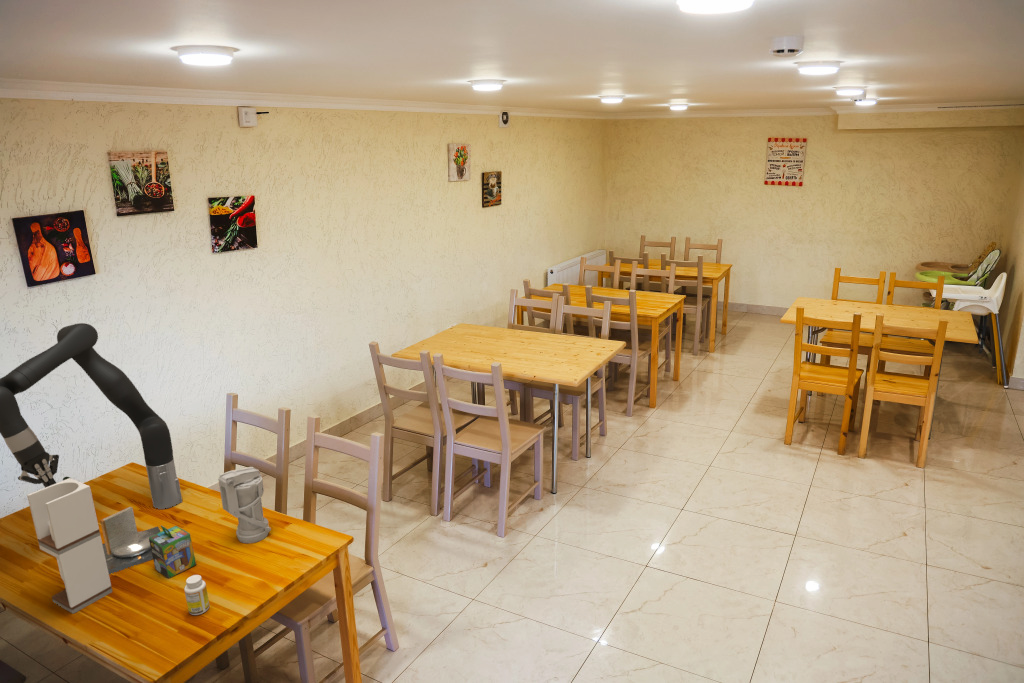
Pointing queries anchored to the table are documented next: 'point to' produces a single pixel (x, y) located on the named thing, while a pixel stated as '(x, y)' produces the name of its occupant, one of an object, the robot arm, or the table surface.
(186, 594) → the supplement bottle
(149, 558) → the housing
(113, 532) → the dial
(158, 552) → the chalk box
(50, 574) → the table surface
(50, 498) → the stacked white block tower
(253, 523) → the gray strapped canister
